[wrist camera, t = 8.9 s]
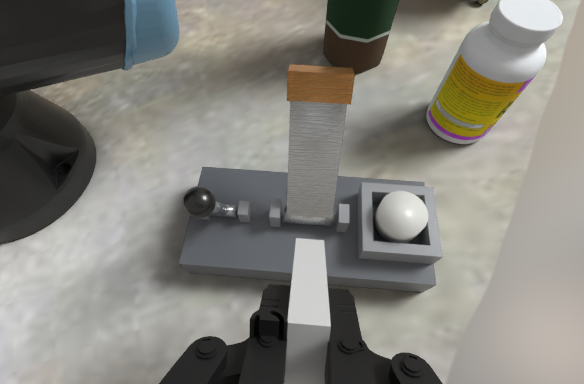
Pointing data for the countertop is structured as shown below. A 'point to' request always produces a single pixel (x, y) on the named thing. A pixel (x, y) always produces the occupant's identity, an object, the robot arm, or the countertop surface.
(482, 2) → the tabletop clock
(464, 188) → the countertop surface
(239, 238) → the switch panel
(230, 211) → the toggle switch
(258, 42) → the countertop surface
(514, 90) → the supplement bottle
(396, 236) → the push button
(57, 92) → the countertop surface
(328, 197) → the paddle lever
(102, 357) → the countertop surface
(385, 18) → the beer bottle
